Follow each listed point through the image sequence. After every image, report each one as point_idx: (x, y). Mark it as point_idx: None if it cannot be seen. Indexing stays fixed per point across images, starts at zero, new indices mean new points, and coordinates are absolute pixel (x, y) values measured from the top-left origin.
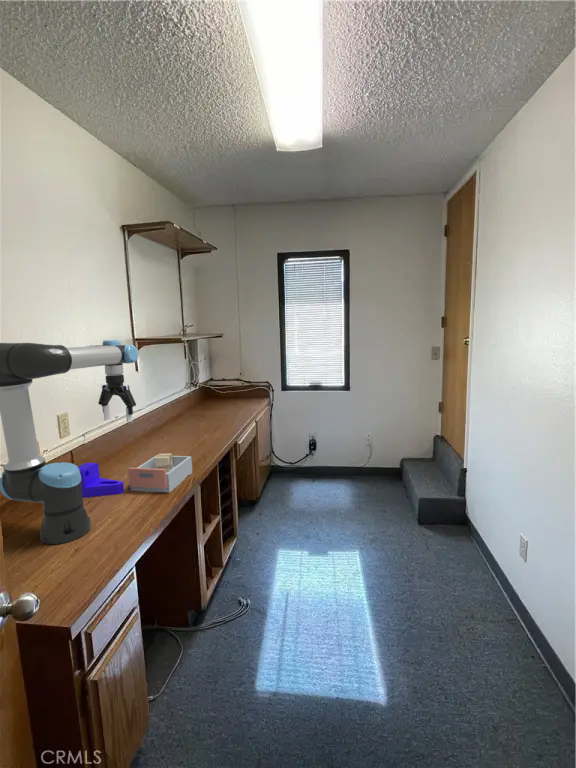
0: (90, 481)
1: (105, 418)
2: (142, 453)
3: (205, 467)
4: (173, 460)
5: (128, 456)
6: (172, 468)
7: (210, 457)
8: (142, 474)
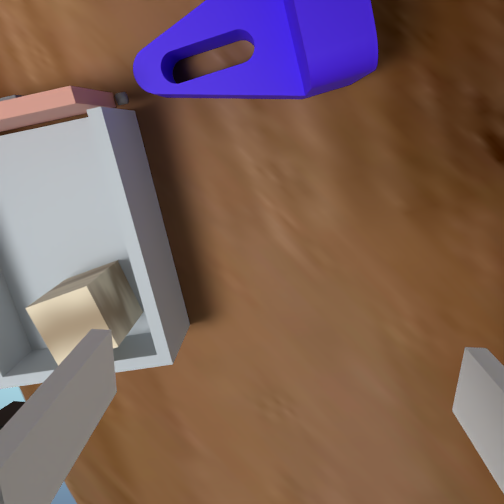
0: (286, 6)
1: (476, 363)
2: (414, 477)
3: None
4: None
5: (454, 434)
6: None
7: (92, 495)
8: (2, 99)
